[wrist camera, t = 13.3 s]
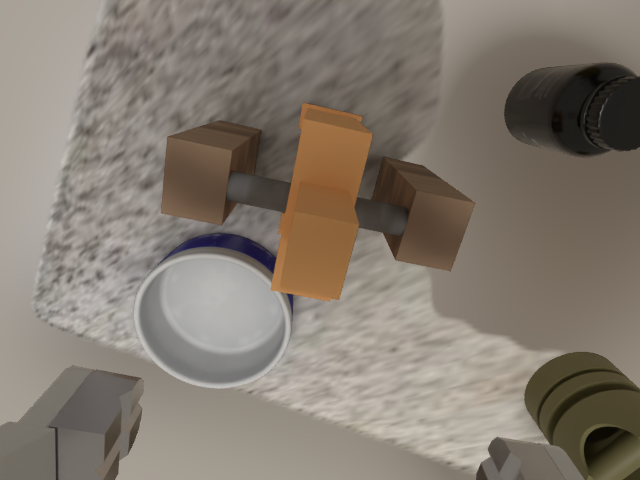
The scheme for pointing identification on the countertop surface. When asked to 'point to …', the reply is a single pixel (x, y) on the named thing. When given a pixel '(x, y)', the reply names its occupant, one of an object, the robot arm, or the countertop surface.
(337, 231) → the orange stepped block
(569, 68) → the supplement bottle
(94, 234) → the countertop surface
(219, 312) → the dog bowl
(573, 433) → the piston
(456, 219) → the crossbar stand
